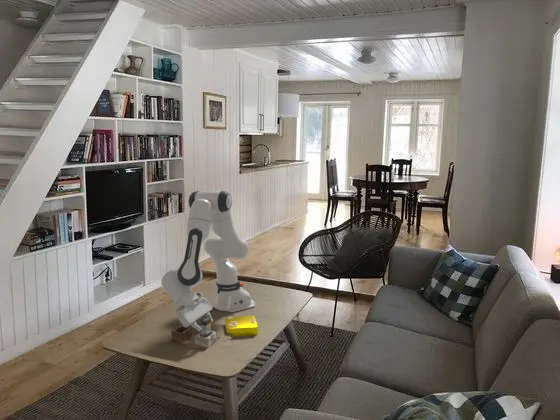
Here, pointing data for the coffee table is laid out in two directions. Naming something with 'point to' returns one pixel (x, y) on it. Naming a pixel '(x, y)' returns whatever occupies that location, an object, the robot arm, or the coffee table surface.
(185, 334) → the caddy
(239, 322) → the element tile
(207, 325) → the brushed metal bar
